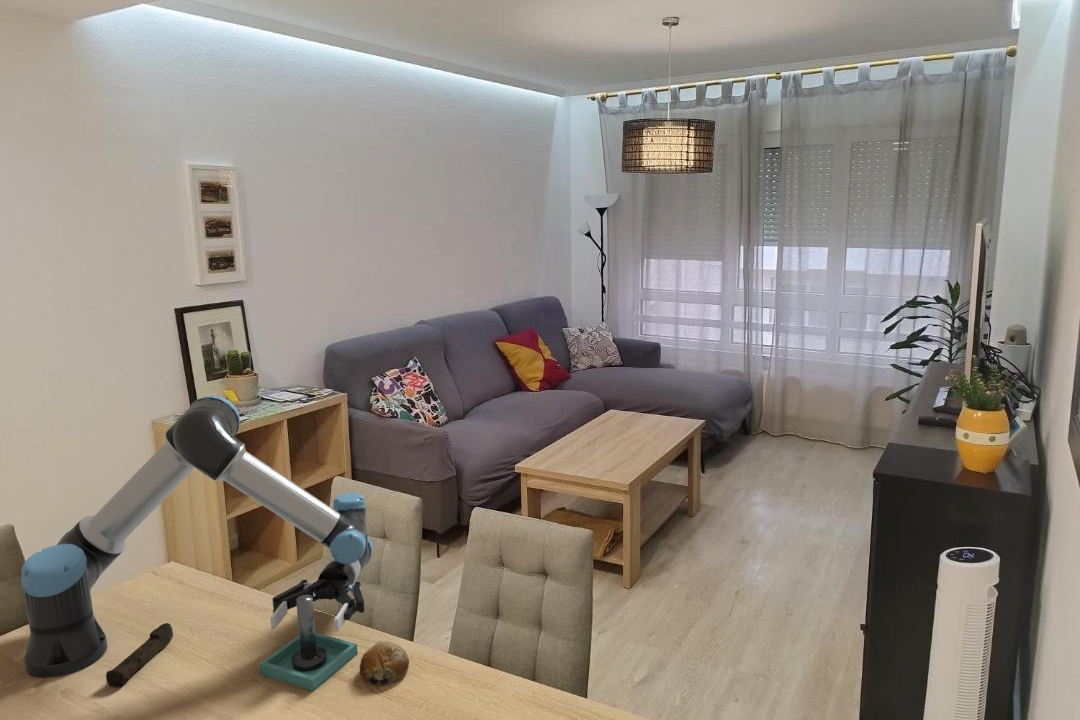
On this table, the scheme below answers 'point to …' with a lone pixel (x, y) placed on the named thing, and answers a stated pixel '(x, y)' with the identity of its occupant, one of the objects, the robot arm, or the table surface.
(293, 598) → the robot arm
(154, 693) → the table surface
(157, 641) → the hand tool
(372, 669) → the bread roll
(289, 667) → the tray
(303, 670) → the joystick
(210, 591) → the table surface
